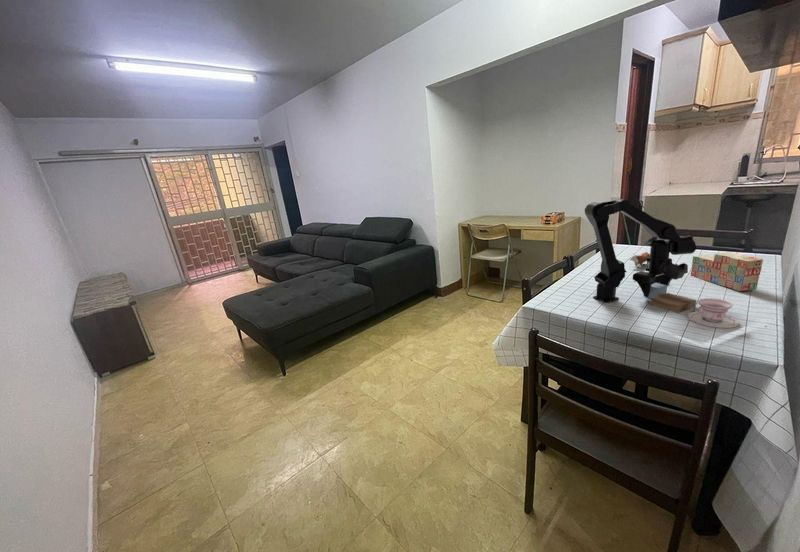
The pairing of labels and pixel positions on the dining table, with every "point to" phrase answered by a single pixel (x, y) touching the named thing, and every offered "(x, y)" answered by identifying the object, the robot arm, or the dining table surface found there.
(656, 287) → the slate cube
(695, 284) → the dining table surface
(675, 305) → the walnut block
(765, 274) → the dining table surface
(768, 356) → the dining table surface
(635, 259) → the bull figurine
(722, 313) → the teacup
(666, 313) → the dining table surface
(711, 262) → the stack of blocks
